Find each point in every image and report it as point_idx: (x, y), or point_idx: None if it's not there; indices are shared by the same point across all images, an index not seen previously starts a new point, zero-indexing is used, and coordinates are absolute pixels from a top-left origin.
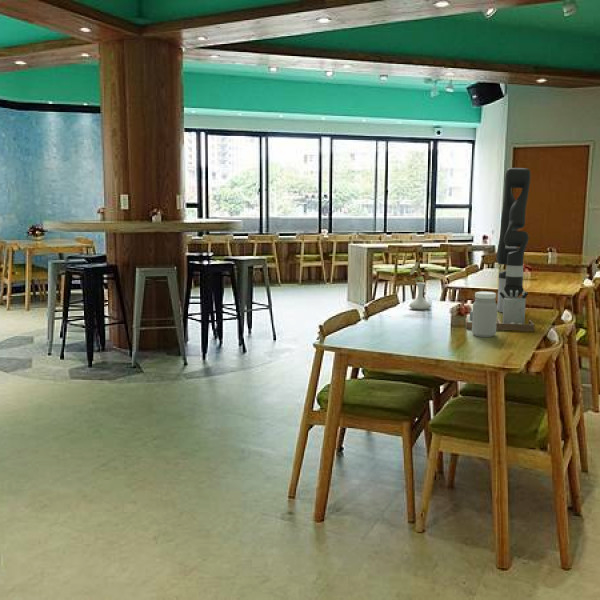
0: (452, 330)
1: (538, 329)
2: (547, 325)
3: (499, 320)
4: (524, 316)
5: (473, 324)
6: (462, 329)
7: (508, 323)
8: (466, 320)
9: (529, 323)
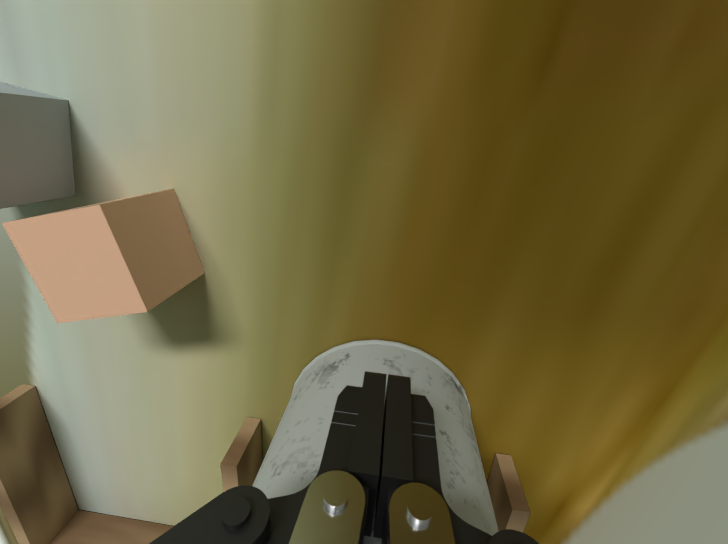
0: (13, 539)
1: (530, 533)
2: (706, 405)
3: None
4: None
5: None
6: None
7: None
8: (7, 515)
9: (496, 507)
